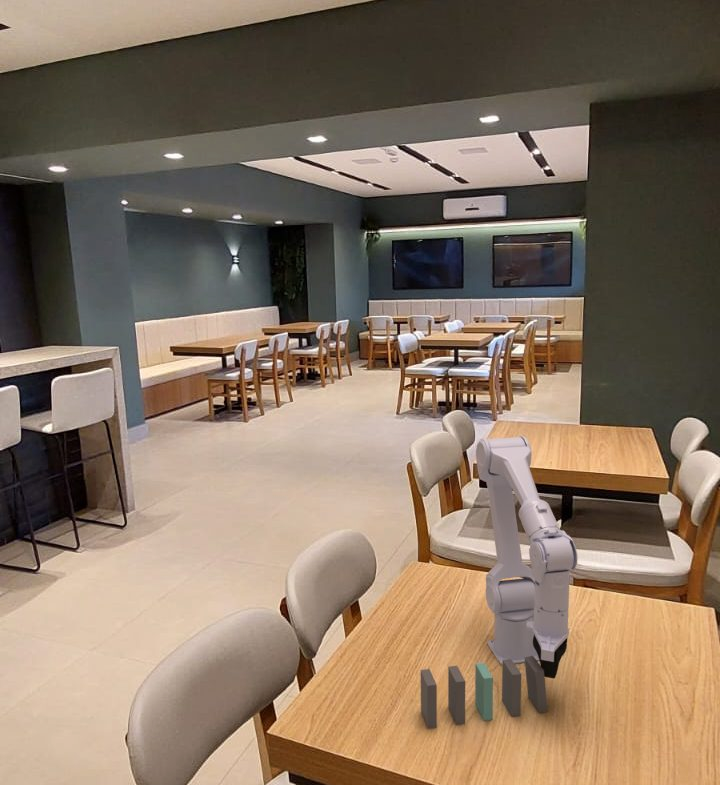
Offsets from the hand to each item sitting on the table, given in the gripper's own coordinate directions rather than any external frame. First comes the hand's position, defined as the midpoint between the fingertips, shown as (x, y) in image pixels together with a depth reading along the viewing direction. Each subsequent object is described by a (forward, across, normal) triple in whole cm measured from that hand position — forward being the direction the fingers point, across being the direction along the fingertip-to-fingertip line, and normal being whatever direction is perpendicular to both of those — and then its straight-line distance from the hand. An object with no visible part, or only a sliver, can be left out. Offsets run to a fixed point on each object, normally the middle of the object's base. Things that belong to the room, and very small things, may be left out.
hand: (549, 675), depth 108 cm
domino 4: (+5, +1, -2) cm, 6 cm away
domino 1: (+5, +11, -19) cm, 23 cm away
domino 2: (+5, +8, -15) cm, 18 cm away
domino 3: (+5, +4, -6) cm, 9 cm away
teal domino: (+5, +6, -10) cm, 13 cm away
